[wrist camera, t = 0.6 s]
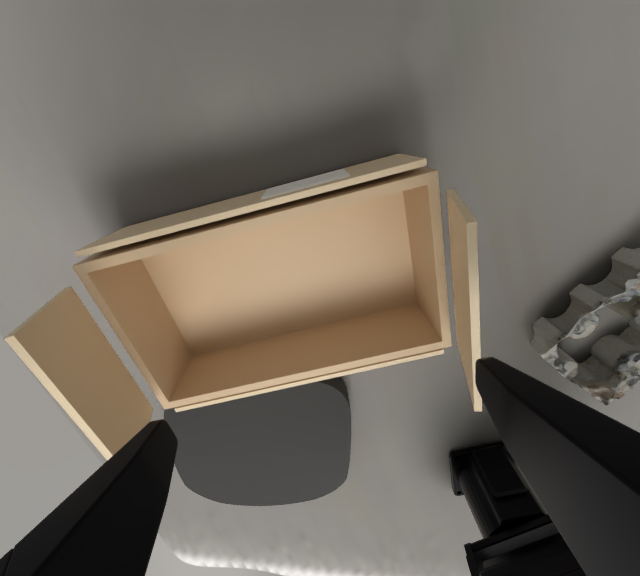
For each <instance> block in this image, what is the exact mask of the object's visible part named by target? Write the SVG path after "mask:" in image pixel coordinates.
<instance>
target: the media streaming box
mask: <svg viewBox="0 0 640 576" xmlns="http://www.w3.org/2000/svg"><path fill="white" fill-rule="evenodd" d="M174 408H175V407H174ZM174 408H169V409H165V411H164V420H166V421H167V422H168V424H169V425H170V427H171V429H172V430H173V432H174V433H175V435H176V437H177V440H178V447H177V452H176V457H175V462H174V463H175V466H176V468H177V471H178V473H179V475H180V477H181V479H182V481H183V482H184V484H185V485H186V486H187V487H188V488H189V489H191V490H192V491H193V492H195V493H197V494H199V495H201V496H203V497H205V498H208V499H210V500H213V501H217V502H220V503H225V504H233V505H246V506H271V505H284V504H292V503H298V502H304V501H309V500H313V499H317V498H320V497H322V496H325V495H327V494H329V493H331V492H332V491H334V490H336V489H337V488H338V487H340V486H341V485H342V484H343V483H344V482H345V480H346V478H347V474H348V469H349V461H350V450H351V414H350V405H349V398H348V392H347V388H346V386H345V384H344V382H343V381H342V379H341V378H340V377H335V378H331V379H326V380H321V381H317V382H312V383H308V384H303V385H299V386H294V387H289V388H285V389H280V390H276V391H271V392H267V393H262V394H258V395H253V396H248V397H244V398H239V399H235V400H230V401H226V402H221V403H217V404H212V405H207V406H203V407H198V408H194V409H189V410H185V411H180V412H176V411H175V410H174Z"/></svg>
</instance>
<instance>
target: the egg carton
mask: <svg viewBox="0 0 640 576" xmlns="http://www.w3.org/2000/svg"><path fill="white" fill-rule="evenodd" d="M611 260H612V269H611V272H610V273H609V275H608V276H607V277H606V278H605V279H604V280H602V281H601V282H599V283H597V284H594V285H584V284H582V283H581V284H579V285H578V286H576V287H575V288H574V289H573V290H572V291H571V292H570V293H569V294H570V298H571V304H570V307H569V308H568V309H567V311H566V312H565V313H564V314H562V315H560V316H558V317H556V318H551V319H548V318H544V317H541V318H539V319H538V320H537V321H536V322H535V323H534V324H533V325H532V327H533V329H534V332H535V334H534V337H533V339H532V340H531V342H530V344H531V346H532V347H534V348H535V349H536V350H537V351H538V352H539V353H540V354H541V355H540V356H541V357H542V358H543V359H544V360H546V361H547V362H548V363H549V364H550V365H551V366H553V367H554V368H555V369H556V370H557V372H558V373H559V374H560V375H562V376H563V377H564V378H566V379H568V380H570V381H571V382H573V383H575V384H577V385H579V386H580V387H582V388H583V389H584V390H585V391H586V392H588V393H589V394H590V395H591V396H593V397H594V398H596V399H597V400H598V401H600V402H603V403H604V404H605V405H608V404H610V403H611V402H612V401H613V400H614V398H617V399H620V398H621V397H622V396H623V395H624V394H625V392H626V391H627V390H630V389H633V386H634V385H635V384H636V383H637V381H638V380H640V376H639V374H638V370H639V369H640V248H636V249H629V248H625V247H622V248H621V249H619V250H618V251H617V252H616V253H615V254H614V255H613V256H612V257H611ZM605 306H608V307H609V308H611V309H612V310H614V311H616V312H617V313H619V314H621V315H623V316H624V317H626V318H628V319H629V327H627V328H626V329H625V330H624V331H623V332H622V333H621V334H620V335H619V336H617V335H606V336H603V337H601V338H599V339H598V340H597V341H596V342H595V343H594V344H593V345H592V347H591V354H592V356H591V357H590V358H588V359H587V360H586V361H584V362H582V363H577V362H576V361H575V360H574V359H573V358H571V357H570V356H569V355H568V354H567V353H565V352H564V351H563V350H562V349H560V348H559V347H558V346H557V344H558V343H559V342H560V341H561V340H563V339H564V338H567V337H570V338H572V339H581V338H584V337H585V336H587V335H589V334H591V333H592V332H593V330H594V329H595V327H596V326H598V322H599V316H598V315H597V313H596V312H595V311H597V310H598V309H600V308H603V307H605Z"/></svg>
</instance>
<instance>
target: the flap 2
mask: <svg viewBox="0 0 640 576" xmlns="http://www.w3.org/2000/svg"><path fill="white" fill-rule="evenodd" d="M447 204H448V219H449V234H450V249H451V264H452V279H453V294H454V309H455V324H456V339H457V344H458V348H459V352H460V356H461V360H462V364H463V368H464V372H465V376H466V380H467V384H468V388H469V392H470V396H471V400H472V404H473V408H474V411H478V412H482V398H481V396H480V394H479V392H478V390H477V387H476V383H475V364H476V360H478V359H481V351H480V312H479V274H478V235H477V220H476V219H475V218H474V216H473V215H472V213H471V212H470V211H469V209H468V208H467V206H466V205H465V204H464V202H463V201H462V199H461V198H460V196H459V195H458V194H457V192H456V191H455V189H449V190H447Z"/></svg>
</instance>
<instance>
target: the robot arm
mask: <svg viewBox="0 0 640 576" xmlns="http://www.w3.org/2000/svg"><path fill="white" fill-rule="evenodd" d="M475 383H476V387H477V390H478V392H479V394H480V396H481V398H482V400H483V402H484V404H485V406H486V408H487V410H488V412H489V414H490V416H491V418H492V420H493V422H494V425H495V427H496V429H497V431H498V433H499V435H500V437H501V438H502V440H503V442H501V443H495V444H490V445H485V446H480V447H475V448H470V449H465V450H460V451H455V452H452V453H450V455H449V458H450V468H451V478H452V488H453V492H454V494H455V495H456V496H460V495H464V496H465V498H466V500H467V502H468V505H469V507H470V509H471V512H472V514H473V516H474V518H475V521H476V523H477V525H478V527H479V530H480V532H481V534H482V537H483V539H481V540H479V541H476V542H474V543H467V544H465V545H464V547H465V551H466V554H467V556H466V559H467V562H468V566H469V569H470V573H471V576H640V433H639V432H637V431H635V430H633V429H631V428H629V427H627V426H626V425H624V424H622V423H620V422H618V421H616V420H614V419H612V418H610V417H608V416H606V415H604V414H602V413H600V412H598V411H596V410H595V409H593V408H591V407H589V406H587V405H585V404H583V403H581V402H579V401H577V400H575V399H573V398H571V397H569V396H567V395H566V394H564V393H562V392H560V391H558V390H556V389H554V388H552V387H550V386H548V385H546V384H544V383H542V382H540V381H538V380H536V379H535V378H533V377H531V376H529V375H527V374H525V373H523V372H521V371H519V370H517V369H515V368H513V367H511V366H509V365H507V364H506V363H504V362H502V361H500V360H498V359H496V358H494V357H486V358H481V359H478V360H476V364H475ZM177 447H178V440H177V437H176V435H175V433H174V432H173V430H172V429H171V427H170V425H169V424H168V422H167V421H166V420H164V419H161V420H156V421H152V422H149V423H148V424H147V425H146V426H145V427H144V428H142V429H141V430H140V431H139V432H138V433H137V434H136V435H135V436H134V437H133V438H132V439H131V440H129V441H128V442H127V443H126V444H125V445H124V446H123V447H122V448H121V449H120V450H119V451H117V452H116V453H115V454H114V455H113V456H112V457H111V458H110V459H109V460H108V461H107V462H106V463H104V464H103V465H102V466H101V467H100V468H99V469H98V470H97V471H96V472H95V473H94V474H93V475H91V476H90V477H89V478H88V479H87V480H86V481H85V482H84V483H83V484H82V485H80V486H79V488H77V489H76V490H75V491H74V492H73V493H72V494H71V495H70V496H69V497H67V498H66V499H65V500H64V501H63V502H62V503H61V504H60V505H59V506H58V507H57V508H55V509H54V510H53V511H52V512H51V513H50V514H49V515H48V516H47V517H46V518H45V519H43V520H42V521H41V522H40V523H39V524H38V525H37V526H36V527H35V528H34V529H33V530H32V531H30V532H29V533H28V534H27V535H26V536H25V537H24V538H23V539H22V540H21V541H20V542H19V543H17V544H16V545H15V547H14V549H11V550H10V551H9V552H8V553H6V554H5V555H4V556H3V557H2V558H1V559H0V576H145V573H146V570H147V567H148V563H149V560H150V556H151V553H152V550H153V546H154V543H155V539H156V536H157V533H158V529H159V526H160V523H161V519H162V516H163V512H164V509H165V505H166V501H167V497H168V492H169V487H170V482H171V477H172V472H173V467H174V462H175V457H176V452H177Z"/></svg>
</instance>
